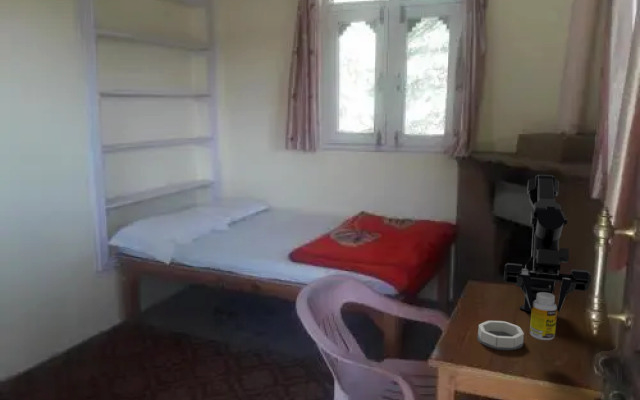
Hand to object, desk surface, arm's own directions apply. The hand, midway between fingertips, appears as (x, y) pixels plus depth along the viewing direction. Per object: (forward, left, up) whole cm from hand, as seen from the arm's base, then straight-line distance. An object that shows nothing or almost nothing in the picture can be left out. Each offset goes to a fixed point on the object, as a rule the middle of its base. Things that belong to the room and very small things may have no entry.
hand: (544, 309), depth 123 cm
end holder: (-3, -13, -13) cm, 19 cm away
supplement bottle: (-1, -1, -7) cm, 7 cm away
